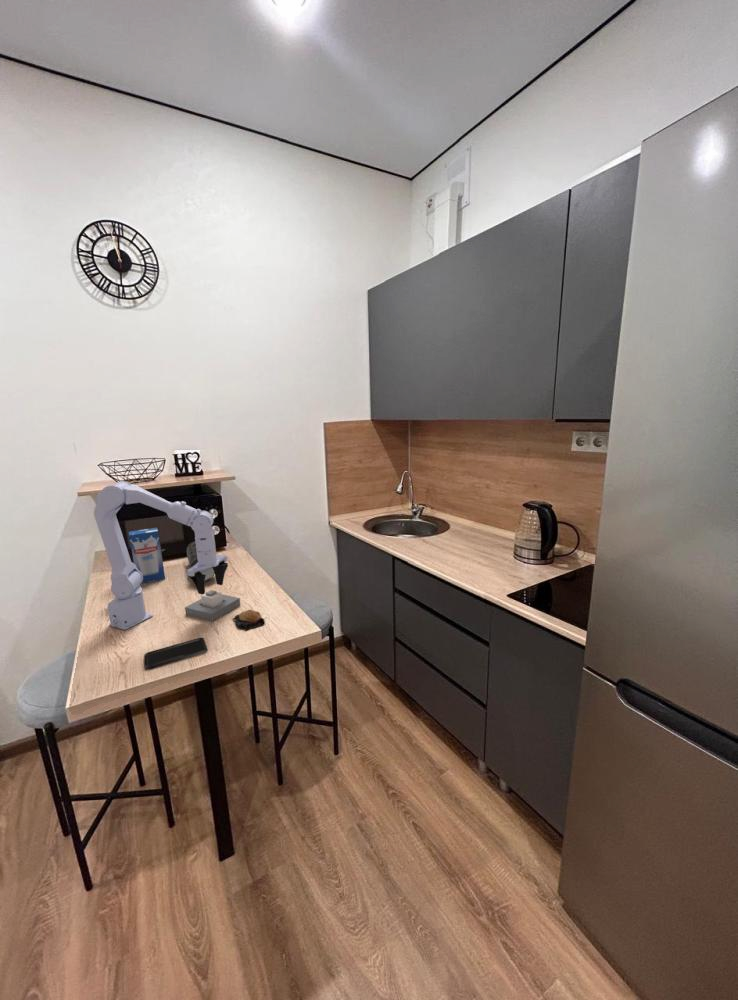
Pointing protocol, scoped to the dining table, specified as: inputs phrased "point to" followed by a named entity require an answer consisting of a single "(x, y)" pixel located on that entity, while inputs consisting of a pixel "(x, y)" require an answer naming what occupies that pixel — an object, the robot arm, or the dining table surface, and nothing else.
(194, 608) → the socket block
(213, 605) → the plug
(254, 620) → the bread roll
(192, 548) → the muzzle brake
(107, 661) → the dining table surface
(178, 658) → the phone
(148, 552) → the milk carton
